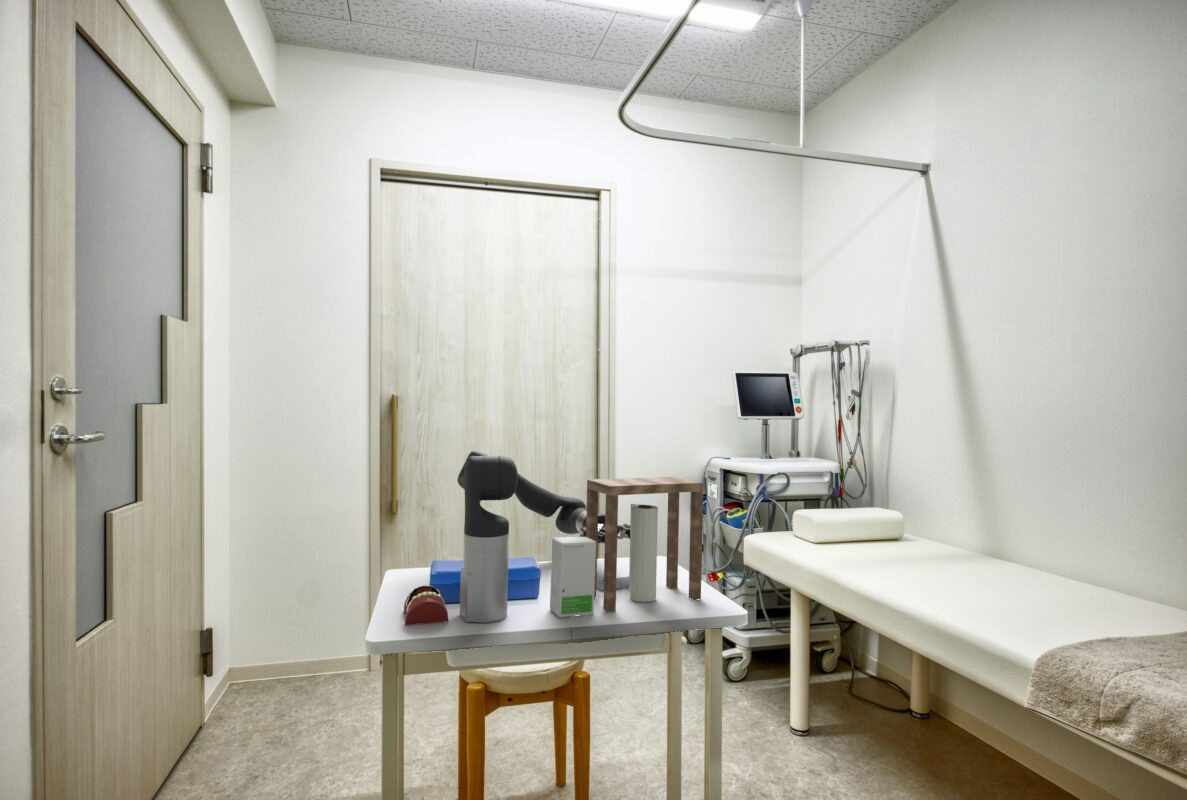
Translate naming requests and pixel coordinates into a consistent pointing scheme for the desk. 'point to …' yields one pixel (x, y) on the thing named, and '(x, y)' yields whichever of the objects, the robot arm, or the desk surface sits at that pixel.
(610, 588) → the walnut shelf
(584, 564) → the skincare box
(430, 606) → the teeth
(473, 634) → the desk surface
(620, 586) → the slate mat
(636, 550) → the paper towel roll
